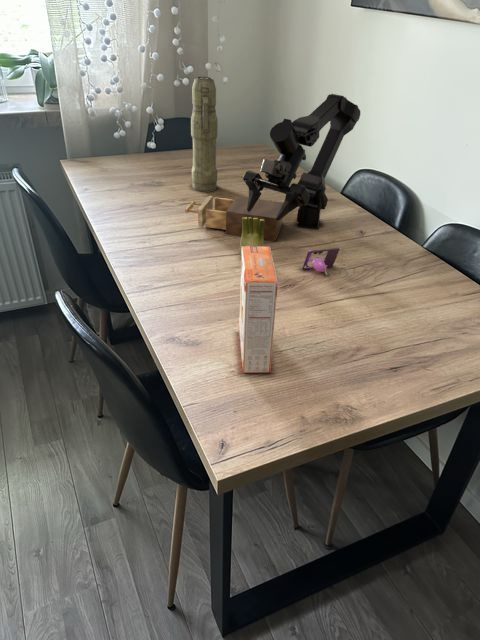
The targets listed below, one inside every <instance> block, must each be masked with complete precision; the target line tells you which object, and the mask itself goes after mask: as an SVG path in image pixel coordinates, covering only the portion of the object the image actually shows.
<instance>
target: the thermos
mask: <svg viewBox="0 0 480 640" xmlns="http://www.w3.org/2000/svg"><path fill="white" fill-rule="evenodd" d="M191 92H192V93H191V101H192V103H191V104H192V113H191V117H190V136H191V138H192V166H191V181H192V184H191V185H192V189H193V190H194V191H196V192H197V191H198V192H204V193H207V192H213V191H216V190H217V187H218V185H217V182H218V169H217V138H218V133H219V132H218V129H219V128H218V123H219V122H218V121H219V120H218V116H217V110H216V106H217V87H216V84H215V80H214V79H213V78H212V77H210V76H197V77H195V78H194V79H193V83H192V87H191Z"/></svg>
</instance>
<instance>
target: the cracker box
mask: <svg viewBox="0 0 480 640" xmlns="http://www.w3.org/2000/svg"><path fill="white" fill-rule="evenodd" d="M275 268H276V267H275V264H274V260H273V255H272V251H271V246H263V247H254V246H242V251H241V255H240V287H239V288H240V289H239V290H240V291H239V293H240V294H239V295H240V296H239V300H240V301H239V327H238V333H239V345H240V346H239V347H240V357H241V368H242V374H270V373H271V371H272V359H273V358H272V357H273V344H274V333H275V331H274V330H275V320H276V309H277V298H278V287H279V286H278V285H279V282H278V277H277V273H276V269H275Z"/></svg>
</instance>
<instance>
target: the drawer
mask: <svg viewBox="0 0 480 640" xmlns="http://www.w3.org/2000/svg"><path fill="white" fill-rule="evenodd" d="M233 201H234V199H231V198H224V197H215V198H214V196H213V195H208V196H207V197H206V199H205V200H204V201H203V202H202V203H201V202H196V201H195V200H193V201H191V203H190V204H189V205H188V206H187V207H186V208H185V210H184V211H185V213H187V214H188V213H193V214H197V227H198V228H203V227H204V226H205V227H206V228H212V229H218V230H225V231H226V211H227V210H228V208H229V207H230V205H231V204H232V202H233ZM195 206H199V207H198V208H197V210H196V209H193V208H194V207H195Z"/></svg>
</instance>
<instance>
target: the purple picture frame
mask: <svg viewBox="0 0 480 640" xmlns="http://www.w3.org/2000/svg"><path fill="white" fill-rule="evenodd" d="M324 252H326V253H325V256H324V258H322V257H319V256H316V257H313V258H312V259H311V260H310V258H311V257H312V255H317V254H318V255H322V254H323V253H324ZM339 252H340V248H339V247H336V248H335V247H334V248H325V249H324V248H323V249H316V250H315V249H313V250H307V253H306V256H305V259H304V261H303V265H302V268H301V269H302V270H303V271H305V270H306V271H307V270H315V271H316V272H319V273H324V274H325V276H328V272H327V268H332V267H333V266H334V264H335V262H336V259H337V257H338V255H339ZM309 262H311V263H312V266H310V267H309V265H308V264H309Z"/></svg>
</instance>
